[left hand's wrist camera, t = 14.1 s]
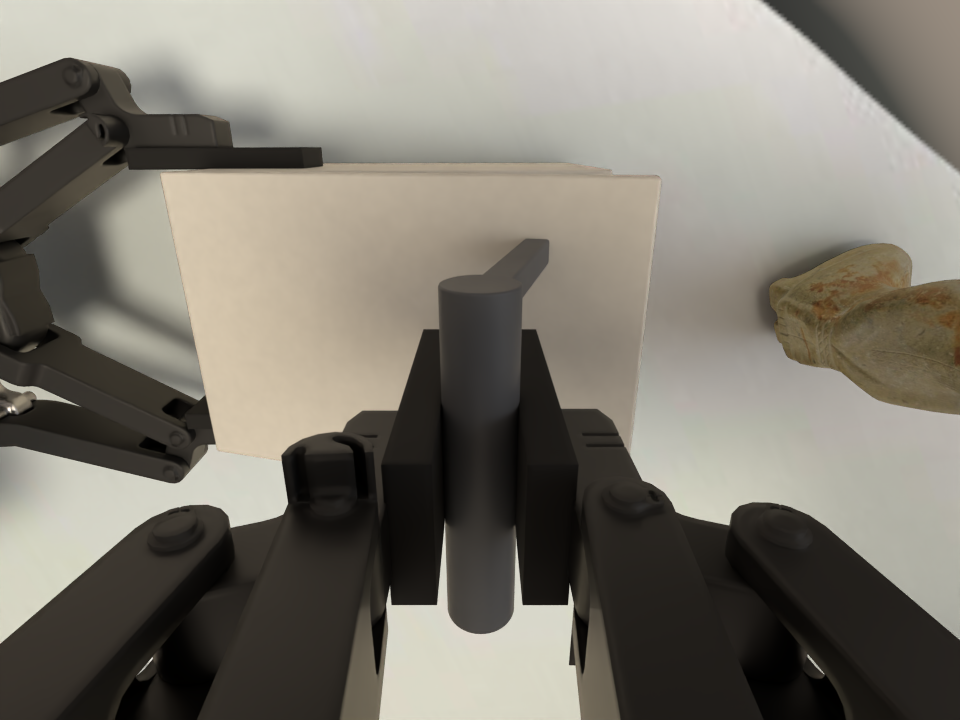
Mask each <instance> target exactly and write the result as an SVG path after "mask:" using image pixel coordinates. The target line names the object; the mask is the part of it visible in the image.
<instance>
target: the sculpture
mask: <svg viewBox="0 0 960 720" xmlns="http://www.w3.org/2000/svg"><path fill="white" fill-rule="evenodd" d="M911 274H912V261H911V258H910V256H909V255H908V254H907V253H906V252H905V251H904V250H902V249H901V248H899V247H898V246H895V245H893V244H885V243H880V244H870V245H865V246H861V247H858V248H855V249H852V250H849V251H847V252H845V253H843V254H840V255H838V256H836V257H834V258H832V259H830V260H828V261H826V262H824V263H822V264H820V265H819V266H817V267H815V268H814V269H812V270H810V271H808V272H806V273H804V274H802V275H799V276H796V277H793V278H790V279H789V278H781V279H779V280H777V281H775V282H774V283H772V284H771V285H770V287H769V298H770V305H771V307H772V308H773V309H774V311H775V312H776V313H777V318H778V319H777V320H776V322H775V323H774V329H775V333H776V336H777V339H778V341H779V342H780V343H782V345H783V349H784V351H785V353H786V355H787V356H788V358H790V359H792V360H795V361H798V362H799V363H800V364H805V365H809V366H814V367H821V368H831V369H834V370H837V371H840V372H842V373H843V374H844V375H845V376H847V377H848V378H849V379H850V380H851V381H853V382H854V383H855V384H856V385H857V386H859V387H860V388H861V389H863V390H864V391H865V392H866V393H868V394H869V395H871V396H872V397H874V398H875V399H877V400H879V401H883V402H886V403H889V404H894V405H899V406H904V407H910V408H915V409H921V410H926V411H933V412H940V413H948V414H958V415H960V280H944V281H937V282H931V283H926V284H922V285H918V286H913V287H911Z"/></svg>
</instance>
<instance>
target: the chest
mask: <svg viewBox="0 0 960 720" xmlns="http://www.w3.org/2000/svg"><path fill="white" fill-rule="evenodd" d="M187 171H263V172H365V173H467V174H568V175H612V170H609V169H603V168H597V167H590V166H584V165H577V164H571V163H323V166H321V167H313V168H304V169H200V170H187Z"/></svg>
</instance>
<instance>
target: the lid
mask: <svg viewBox="0 0 960 720" xmlns="http://www.w3.org/2000/svg"><path fill="white" fill-rule="evenodd" d="M160 177H161V182H162V187H163V192H164V196H165V201H166V206H167V211H168V216H169V220H170V225H171V230H172V235H173V240H174V245H175V249H176V254H177V259H178V264H179V269H180V273H181V278H182V283H183V288H184V293H185V298H186V302H187V307H188V312H189V317H190V322H191V327H192V331H193V336H194V341H195V346H196V351H197V355H198V360H199V365H200V370H201V375H202V380H203V384H204V389H205V394H206V399H207V404H208V408H209V413H210V418H211V423H212V428H213V433H214V437H215V442H216V447H217V450H218V451H222V452H228V453H235V454H241V455H248V456H254V457H260V458H267V459H273V460H279V461H282V459H281V455H282V454H283V453H284V452H285V451H286V449H287V448H288V447H289V446H291V445H293V444H294V443H296V442H298V441H300V440H301V439H304V438H307V437H310V436H313V435H317V434H322V433H330V432H343V430H344V428H345V425H346V423H347V422H348V421H349V420H350V419H352V418H353V417H354V416H356V415H357V414H358V413H360V412H361V411H376V410H398V409H399V405H400V402H401V399H402V396H403V393H404V389H405V386H406V383H407V380H408V377H409V374H410V370H411V367H412V364H413V361H414V358H415V354H416V351H417V348H418V345H419V342H420V339H421V335H422V332H423V329H439V338H440V370H441V403H442V435H443V468H444V500H445V532H446V565H447V597H448V613H449V615H450V617H451V619H452V621H453V622H454V623H455V624H456V625H457V626H458V627H459V628H461V629H463V630H465V631H467V632H470V633H475V634H487V633H491V632H495V631H497V630H499V629H501V628H502V627H504V626H505V625H506V624H507V623H508V621H509V620H510V619H511V617H512V614H513V611H514V586H515V550H516V528H515V516H516V482H517V447H518V412H519V402H520V372H521V337H522V329H536V331H537V334H538V337H539V340H540V343H541V346H542V350H543V353H544V356H545V359H546V362H547V366H548V369H549V372H550V375H551V378H552V381H553V385H554V388H555V391H556V394H557V397H558V401H559V404H560V407H561V409H598V410H600V411H601V412H602V413H604V414H605V415H606V416H608V417H609V418H610V419H612V420H613V422H614V424H615V426H616V428H617V430H618V432H619V436H621V438H622V440H623V443H624V447H626V449H627V451H628V453H629V455H630V450H631V441H632V433H633V424H634V415H635V407H636V398H637V390H638V381H639V372H640V364H641V355H642V346H643V338H644V329H645V321H646V312H647V303H648V295H649V286H650V277H651V269H652V260H653V251H654V243H655V234H656V226H657V217H658V208H659V200H660V191H661V182H662V181H661V178H660V177H659V176H657V175H568V174H467V173H365V172H263V171H174V172H162V173H160Z"/></svg>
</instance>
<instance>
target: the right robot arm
mask: <svg viewBox="0 0 960 720" xmlns="http://www.w3.org/2000/svg"><path fill="white" fill-rule="evenodd" d="M130 93H131V84H130V81H129V78H128V77H127V76H126V74H125V73H124V72H122V71H121V70H120V69H117V68H114V67H110V66H105V65H101V64H96V63H92V62H87V61H83V60H78V59H74V58H64V59H61V60H58V61H56V62H53V63H51V64H48V65H45V66H43V67H40V68H37V69H35V70H32V71H30V72H27V73H24V74H22V75H19V76H17V77H14V78H11V79H9V80H6V81H3V82H1V83H0V146H1V145H4V144H7V143H9V142H12V141H15V140H18V139H20V138H23V137H26V136H28V135H31V134H34V133H37V132H39V131H42V130H45V129H47V128H50V127H53V126H56V125H58V124H61V123H64V122H66V121H69V120H72V119H75V118H77V117H80V118H87V119H88V120H87V121H86V122H84V123H83V124H82V125H81V126H79V127H78V128H77V129H75V130H74V131H73V132H72V133H70V134H69V135H68V136H66V137H65V138H64V139H62V140H61V141H60V142H59V143H57V144H56V145H55V146H53V147H52V148H51V149H50V150H48V151H47V152H46V153H44V154H43V155H42V156H41V157H39V158H38V159H37V160H35V161H34V162H33V163H32V164H30V165H29V166H28V167H26V168H25V169H24V170H23V171H21V172H20V173H19V174H17V175H16V176H15V177H14V178H12V179H11V180H10V181H8V182H7V183H6V184H5V185H3V186H2V187H1V188H0V379H2V380H4V381H7V382H9V383H11V384H14V385H17V386H23V387H25V386H36V387H39V388H42V389H44V390H46V391H48V392H50V393H53V394H55V395H57V396H59V397H61V398H64V399H66V400H68V401H70V402H72V403H75V404H77V405H79V406H76V405H72V404H68V403H63V402H58V401H52V400H36V395H35V394H34V393H33V392H30V391H26V392H24V393H20V392H15V391H11V390H8V389H7V388H5V387H4V386H3V385H2V384H1V383H0V447H7V446H17V447H22V448H26V449H30V450H34V451H38V452H43V453H47V454H51V455H55V456H59V457H63V458H68V459H72V460H76V461H80V462H84V463H89V464H93V465H97V466H101V467H105V468H109V469H114V470H118V471H122V472H126V473H130V474H135V475H139V476H143V477H147V478H151V479H155V480H160V481H164V482H168V483H178V482H180V481H181V480H182V479H183V478H184V477H185V476H186V475H187V474H188V473H189V472H190V470H191V469H192V468H193V467H194V466H195V465H196V464H197V463H198V461H199V460H200V459H201V458H202V457H203V456H204V455H205V454H206V452H207V450H208V445H207V444H216V442H215V437H214V433H213V428H212V423H211V418H210V413H209V408H208V404H207V399H206V395H205V396H204V397H203V398H202V399H201V400H200V401H198V400H196V399H194V398H192V397H190V396H188V395H186V394H183V393H181V392H179V391H177V390H175V389H173V388H171V387H169V386H167V385H165V384H163V383H160V382H158V381H156V380H154V379H152V378H150V377H148V376H146V375H144V374H142V373H140V372H137V371H135V370H133V369H131V368H129V367H127V366H125V365H123V364H121V363H119V362H116V361H114V360H112V359H110V358H108V357H106V356H104V355H102V354H100V353H98V352H96V351H93V350H91V349H89V348H87V347H85V346H83V345H82V344H81V339H80V337H78V336H77V335H75V334H73V333H70V332H68V331H66V330H64V329H62V328H60V327H58V326H56V325H54V324H52V323H53V322H54V318H53V315H52V312H51V309H50V306H49V304H48V302H47V300H46V299H45V297H44V295H43V294H42V292H41V290H40V283H39V269H38V266H37V263H36V259H35V256H34V254H27V253H26V252H25V250H24V249H23V248H24V247H25V246H26V245H28V244H29V243H30V242H32V241H33V240H34V239H36V238H37V237H38V236H40V235H41V234H43V233H44V232H45V231H46V230H48V228H49V227H48V225H49V224H50V223H51V222H52V221H54V220H55V219H56V218H58V217H59V216H60V215H62V214H63V213H64V212H66V211H67V210H69V209H70V208H71V207H73V206H74V205H75V204H77V203H78V202H79V201H81V200H82V199H83V198H85V197H86V196H87V195H89V194H90V193H91V192H93V191H94V190H96V189H97V188H98V187H100V186H101V185H102V184H104V183H105V182H106V181H108V180H109V179H110V178H112V177H113V176H114V175H116V174H117V173H118V172H120V171H121V170H122V169H124V168H125V167H127V166H128V167H129V170H160V169H304V168H313V167H321V166H323V160H322V151H321V148H313V147H276V148H233V143H232V137H231V131H230V124H229V122H228V121H226V120H223V119H221V118H218V117H216V116H209V115H200V114H146V113H144V112H143V111H142V110H141V109H140V108H139V107H138V106H137V105H136V103H135V102H134V100H133V98H132V96H131V95H130ZM35 347H37V348H35ZM34 348H35V349H34ZM80 406H81V407H80Z"/></svg>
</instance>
